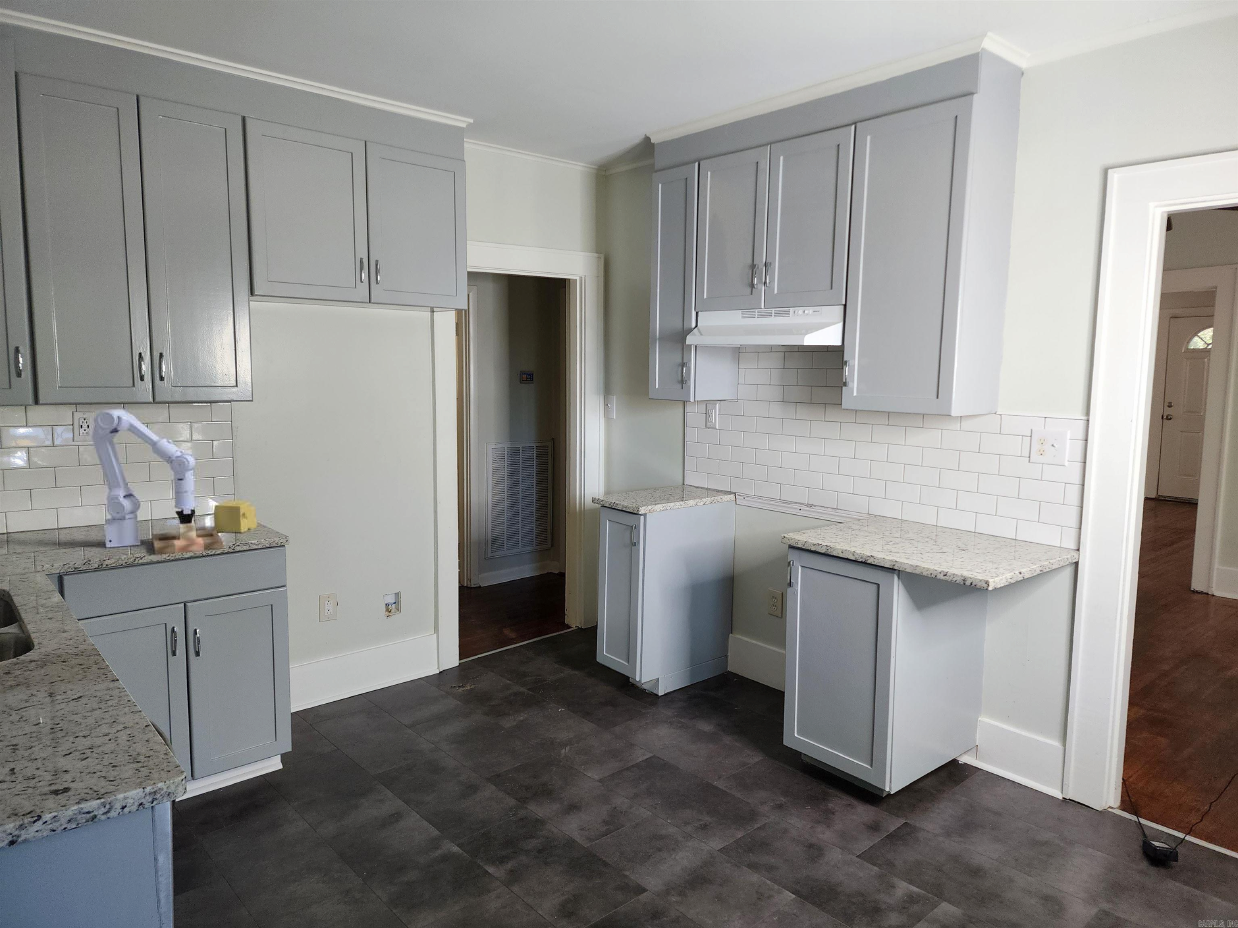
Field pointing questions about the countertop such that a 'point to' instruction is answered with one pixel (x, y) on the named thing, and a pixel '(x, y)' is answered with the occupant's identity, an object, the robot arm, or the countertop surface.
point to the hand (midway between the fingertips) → (186, 532)
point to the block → (187, 531)
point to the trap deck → (186, 542)
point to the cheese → (234, 516)
